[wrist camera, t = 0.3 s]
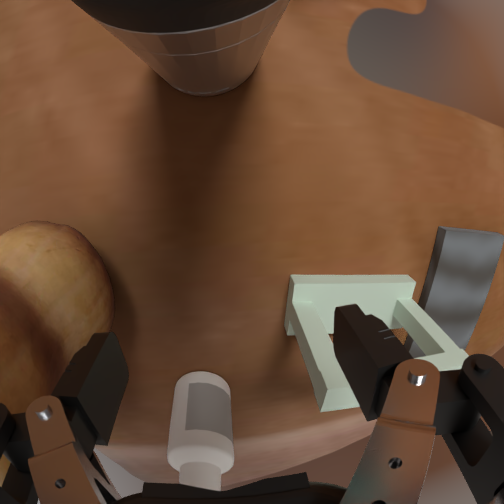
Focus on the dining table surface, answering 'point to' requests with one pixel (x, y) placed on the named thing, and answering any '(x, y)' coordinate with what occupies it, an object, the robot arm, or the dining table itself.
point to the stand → (370, 302)
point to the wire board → (458, 282)
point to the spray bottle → (201, 430)
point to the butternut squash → (46, 309)
